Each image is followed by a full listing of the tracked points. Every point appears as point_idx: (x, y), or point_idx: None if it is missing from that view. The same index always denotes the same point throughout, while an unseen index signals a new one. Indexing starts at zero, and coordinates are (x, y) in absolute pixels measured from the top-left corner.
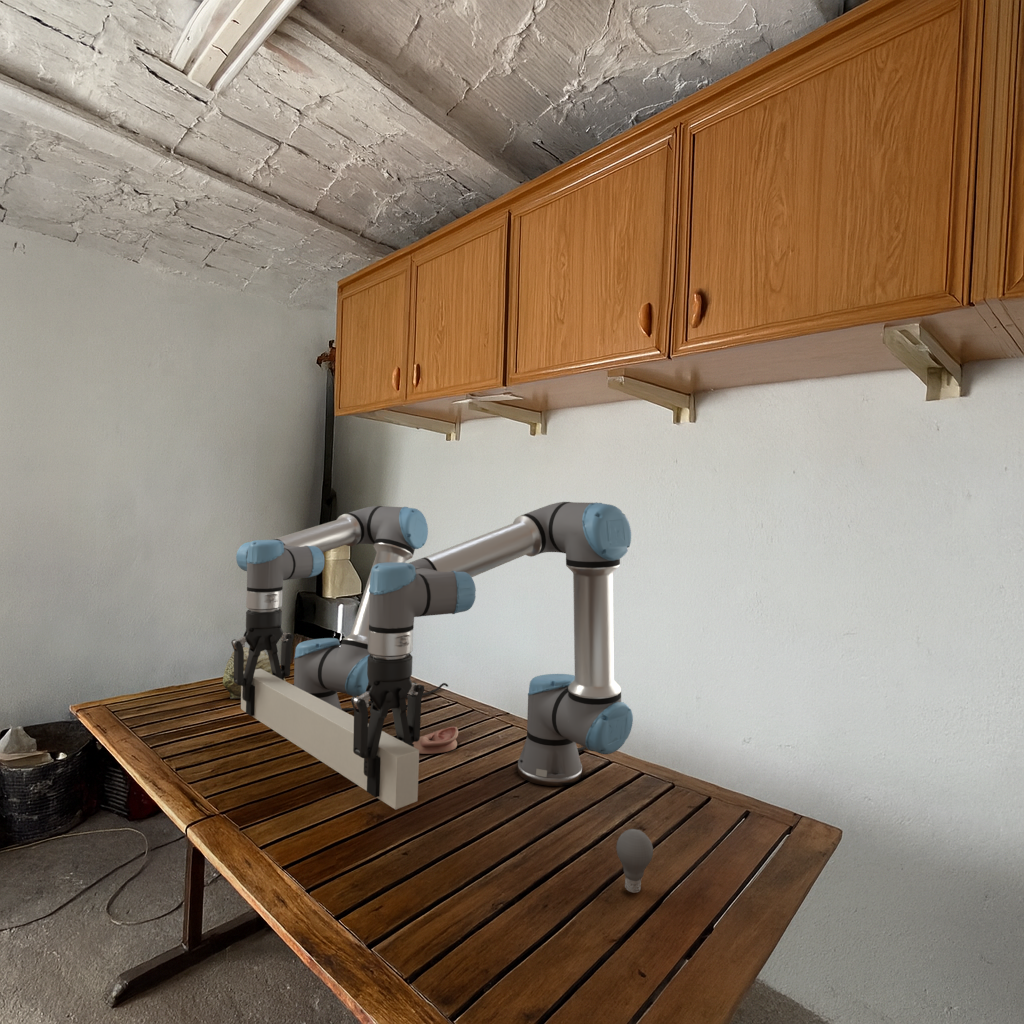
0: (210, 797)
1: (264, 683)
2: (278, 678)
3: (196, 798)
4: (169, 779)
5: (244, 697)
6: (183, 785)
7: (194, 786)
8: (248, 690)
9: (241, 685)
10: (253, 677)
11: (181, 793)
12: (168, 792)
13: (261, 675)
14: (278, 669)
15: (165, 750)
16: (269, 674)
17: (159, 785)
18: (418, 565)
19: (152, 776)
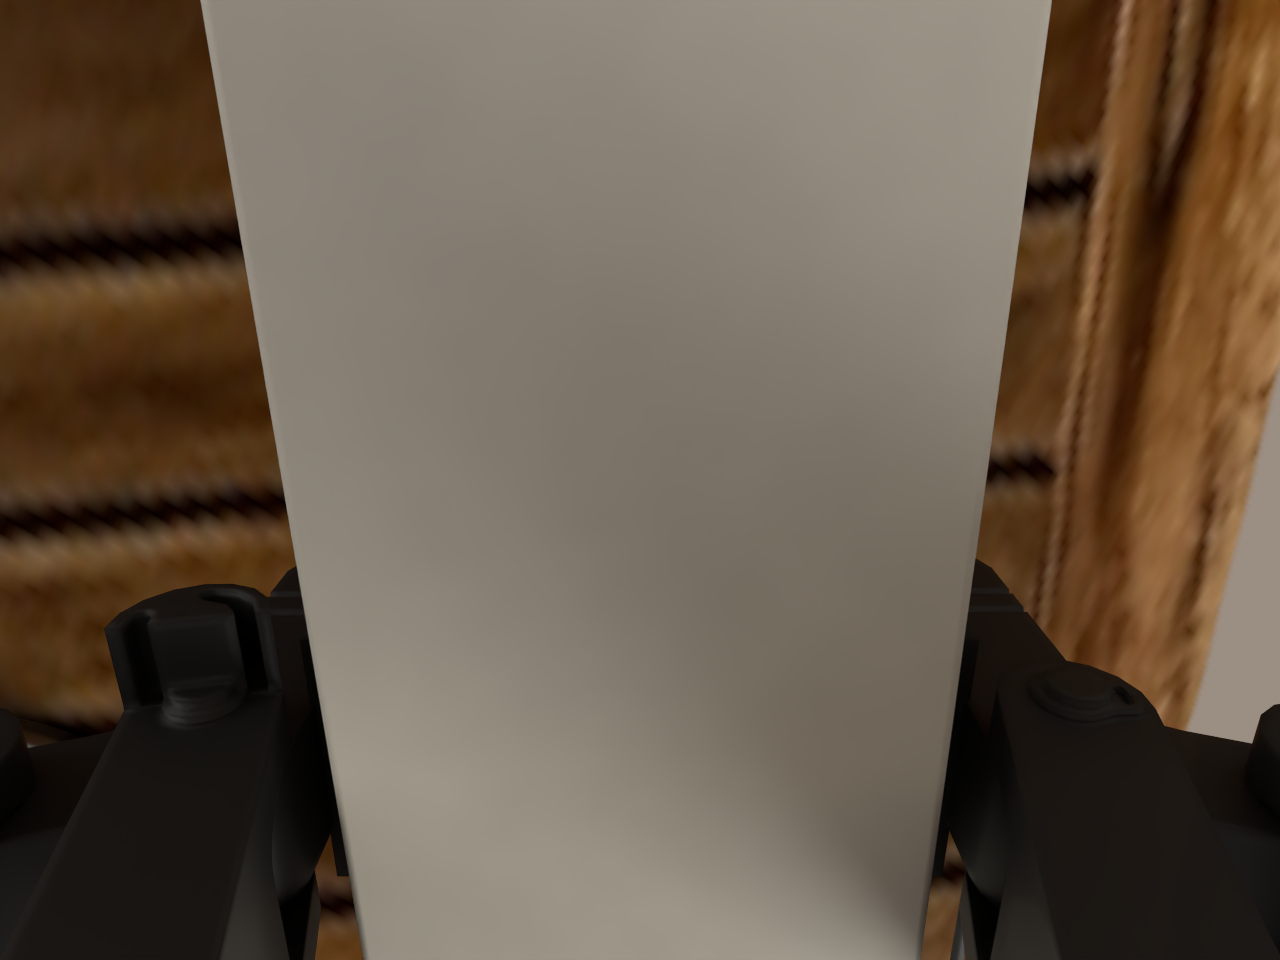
0: (1064, 166)
1: (1004, 113)
2: (316, 424)
3: (1135, 213)
4: (1104, 591)
5: (998, 596)
6: (1091, 460)
7: (1051, 403)
8: (983, 646)
9: (1225, 739)
10: (901, 913)
11: (1160, 352)
12: (1205, 418)
13: (642, 954)
14: (107, 920)
15: (927, 954)
16: (420, 925)
17: (1187, 546)
18: None
19: (1149, 685)
